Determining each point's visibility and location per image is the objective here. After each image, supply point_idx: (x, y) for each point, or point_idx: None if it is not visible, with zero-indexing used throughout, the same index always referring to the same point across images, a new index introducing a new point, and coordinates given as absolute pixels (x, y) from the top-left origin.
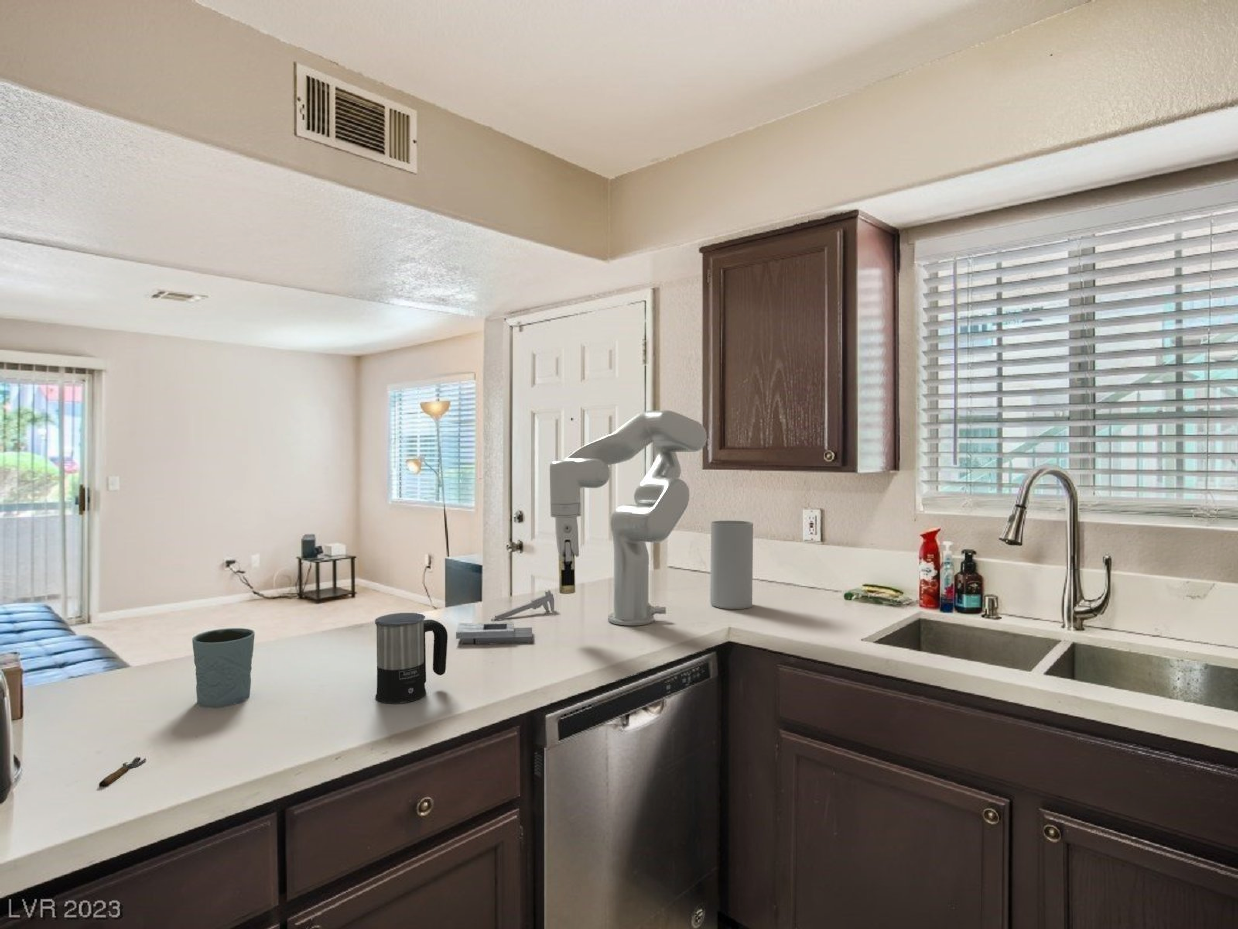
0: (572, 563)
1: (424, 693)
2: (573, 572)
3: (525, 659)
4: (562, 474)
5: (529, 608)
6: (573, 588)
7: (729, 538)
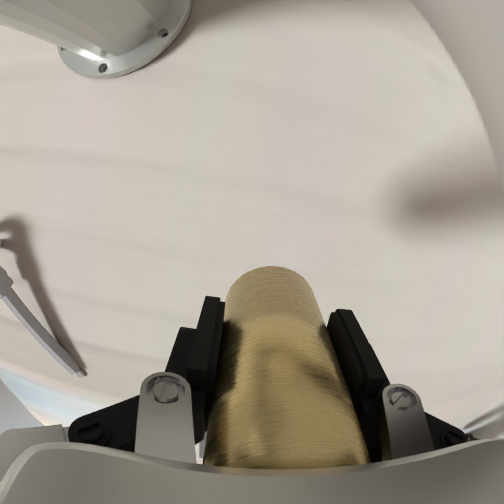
0: (423, 427)
1: (468, 435)
2: (376, 365)
3: (419, 353)
4: None
5: (18, 298)
6: (313, 295)
7: None
